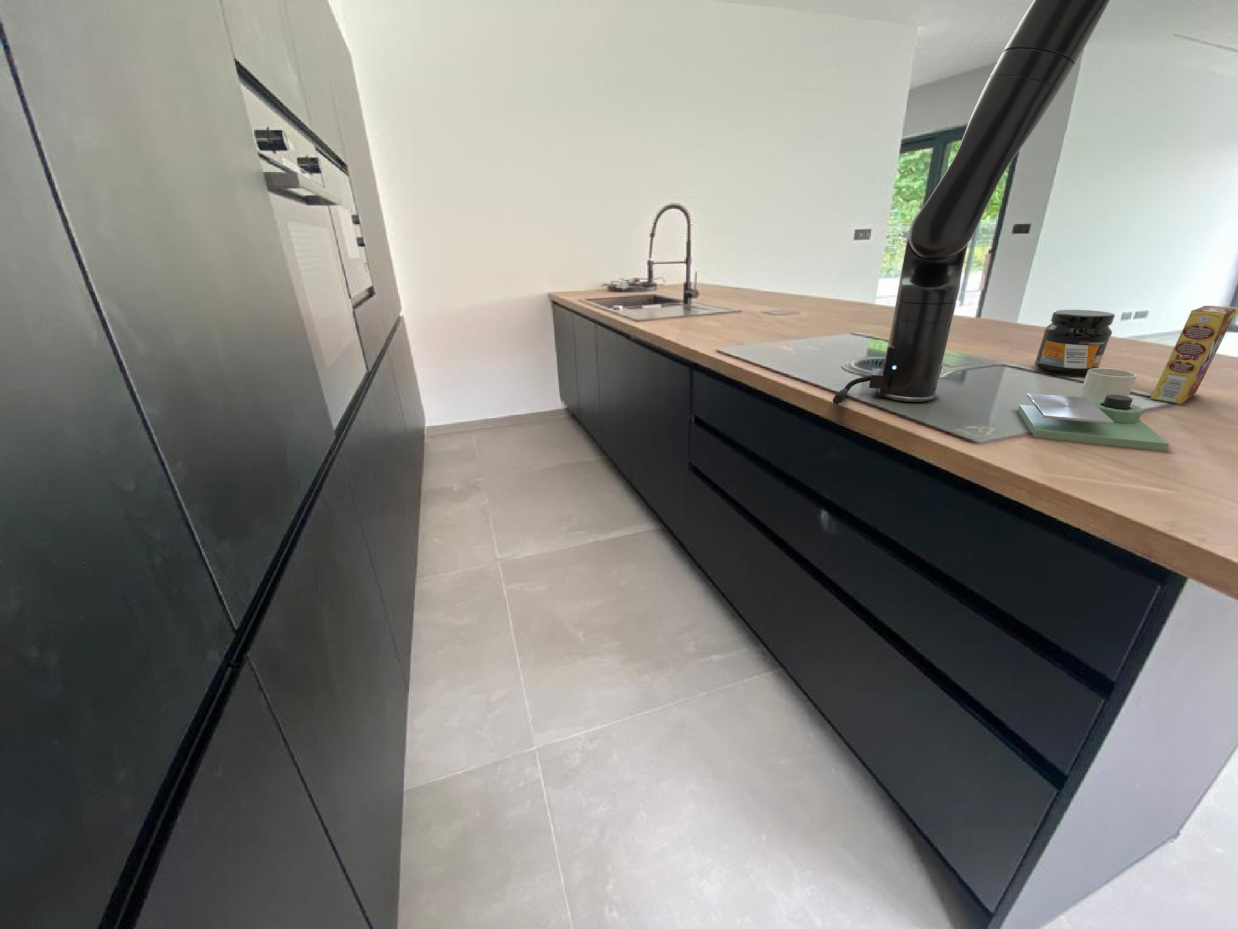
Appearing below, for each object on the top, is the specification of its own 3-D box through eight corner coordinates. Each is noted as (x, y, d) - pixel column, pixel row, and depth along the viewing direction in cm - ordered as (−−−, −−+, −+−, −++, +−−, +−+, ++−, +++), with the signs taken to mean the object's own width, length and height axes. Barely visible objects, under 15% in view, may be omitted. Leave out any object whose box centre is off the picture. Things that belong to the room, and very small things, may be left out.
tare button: (1105, 410, 77) (1110, 399, 76) (1099, 404, 79) (1103, 393, 78) (1131, 412, 75) (1136, 401, 75) (1124, 406, 78) (1128, 395, 77)
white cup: (1083, 406, 86) (1094, 375, 84) (1073, 396, 91) (1083, 366, 88) (1130, 410, 83) (1143, 378, 81) (1117, 400, 88) (1129, 369, 86)
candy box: (1184, 405, 85) (1226, 312, 78) (1149, 399, 88) (1187, 309, 81) (1198, 395, 89) (1239, 306, 83) (1164, 390, 92) (1201, 304, 86)
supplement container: (1072, 379, 100) (1093, 318, 95) (1020, 368, 110) (1037, 311, 105) (1109, 374, 103) (1132, 313, 98) (1056, 363, 112) (1074, 307, 107)
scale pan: (1043, 417, 74) (1044, 415, 73) (1026, 395, 83) (1027, 393, 83) (1112, 424, 70) (1114, 421, 70) (1087, 400, 80) (1087, 397, 80)
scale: (1034, 437, 75) (1040, 418, 73) (1017, 410, 85) (1022, 393, 84) (1165, 451, 68) (1175, 431, 67) (1129, 420, 79) (1136, 402, 78)
